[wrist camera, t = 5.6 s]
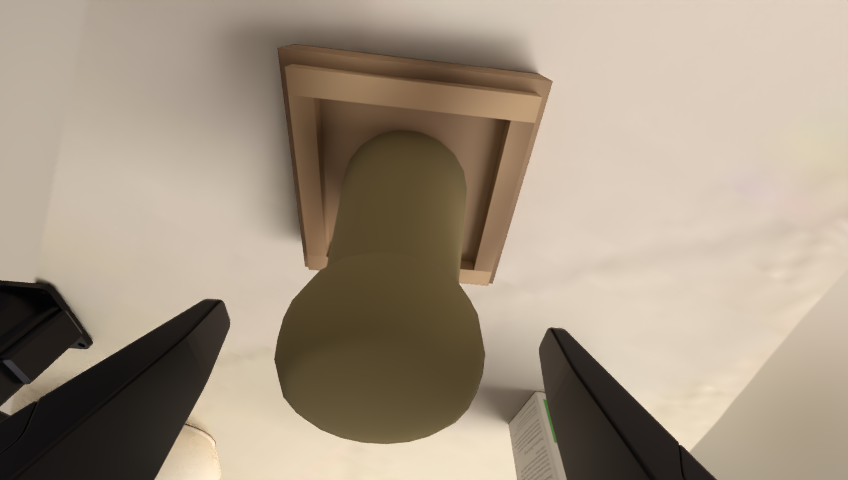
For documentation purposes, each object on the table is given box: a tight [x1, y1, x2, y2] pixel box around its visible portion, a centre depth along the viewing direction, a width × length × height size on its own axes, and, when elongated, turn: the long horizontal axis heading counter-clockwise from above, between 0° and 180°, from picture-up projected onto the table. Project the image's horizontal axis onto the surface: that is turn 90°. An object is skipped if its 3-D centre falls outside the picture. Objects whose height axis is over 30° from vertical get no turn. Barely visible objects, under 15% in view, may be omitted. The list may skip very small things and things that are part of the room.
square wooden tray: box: [278, 44, 553, 286], centre depth 17 cm, size 11×11×3 cm
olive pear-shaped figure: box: [274, 130, 485, 444], centre depth 12 cm, size 6×6×11 cm
